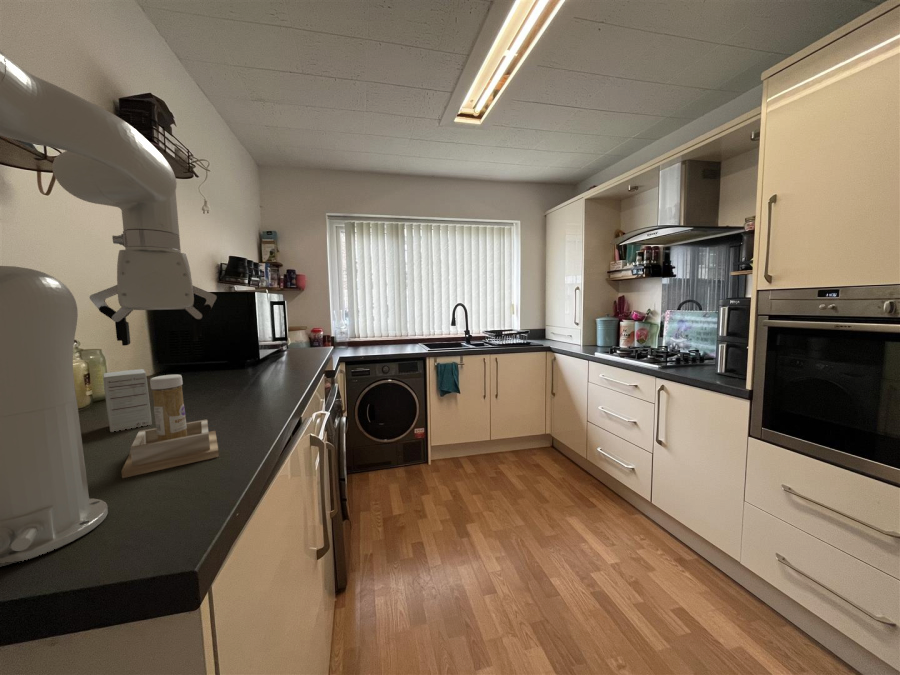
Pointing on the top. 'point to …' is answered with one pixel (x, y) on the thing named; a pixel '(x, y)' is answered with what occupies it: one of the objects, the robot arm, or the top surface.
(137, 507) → the top surface
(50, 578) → the top surface
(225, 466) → the top surface
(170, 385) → the sprinkles bottle
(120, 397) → the supplement box
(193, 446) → the socket board
